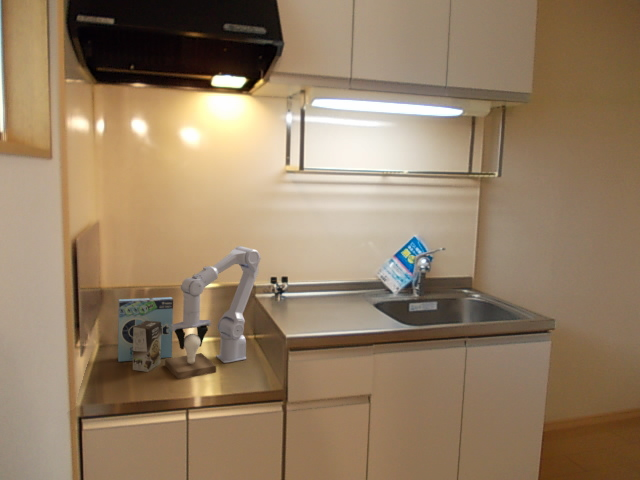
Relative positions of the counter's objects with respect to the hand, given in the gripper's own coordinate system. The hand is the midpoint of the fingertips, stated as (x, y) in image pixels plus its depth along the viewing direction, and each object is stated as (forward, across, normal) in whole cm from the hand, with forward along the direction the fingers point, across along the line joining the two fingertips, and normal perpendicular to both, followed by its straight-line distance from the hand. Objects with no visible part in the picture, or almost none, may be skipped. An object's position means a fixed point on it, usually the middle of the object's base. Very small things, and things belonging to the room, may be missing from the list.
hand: (190, 347), depth 184 cm
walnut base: (+8, 0, 0) cm, 8 cm away
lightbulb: (+6, 0, -2) cm, 6 cm away
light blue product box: (+9, -11, +18) cm, 23 cm away
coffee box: (+9, -13, +9) cm, 18 cm away
